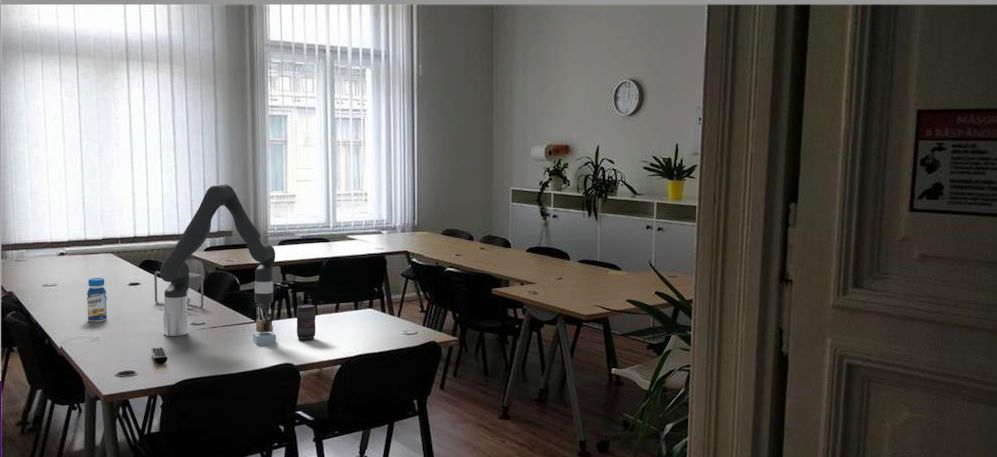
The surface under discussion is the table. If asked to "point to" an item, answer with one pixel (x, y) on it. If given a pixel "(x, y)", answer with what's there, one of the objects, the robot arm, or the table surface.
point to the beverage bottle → (96, 300)
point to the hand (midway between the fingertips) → (264, 329)
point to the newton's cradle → (188, 289)
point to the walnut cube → (262, 326)
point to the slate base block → (264, 338)
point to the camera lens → (306, 322)
